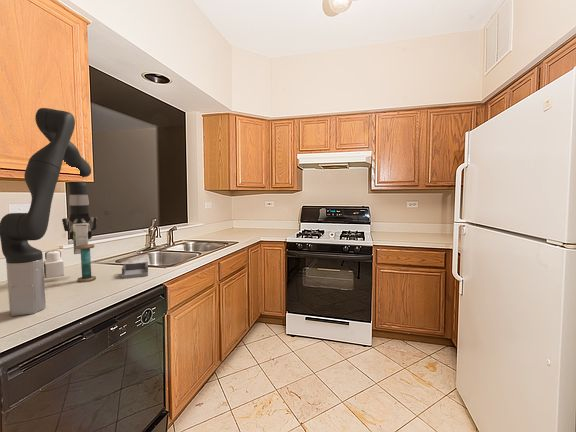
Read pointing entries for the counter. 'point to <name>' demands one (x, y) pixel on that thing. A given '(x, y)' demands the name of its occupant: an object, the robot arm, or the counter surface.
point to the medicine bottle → (53, 264)
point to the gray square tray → (135, 270)
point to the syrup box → (80, 236)
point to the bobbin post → (86, 263)
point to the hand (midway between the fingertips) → (81, 239)
